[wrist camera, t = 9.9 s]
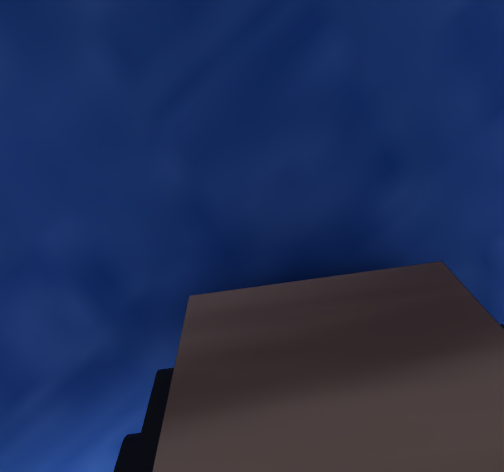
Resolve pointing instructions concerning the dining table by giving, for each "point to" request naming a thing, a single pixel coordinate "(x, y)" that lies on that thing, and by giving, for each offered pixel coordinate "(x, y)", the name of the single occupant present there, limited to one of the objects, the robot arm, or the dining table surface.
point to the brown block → (338, 378)
